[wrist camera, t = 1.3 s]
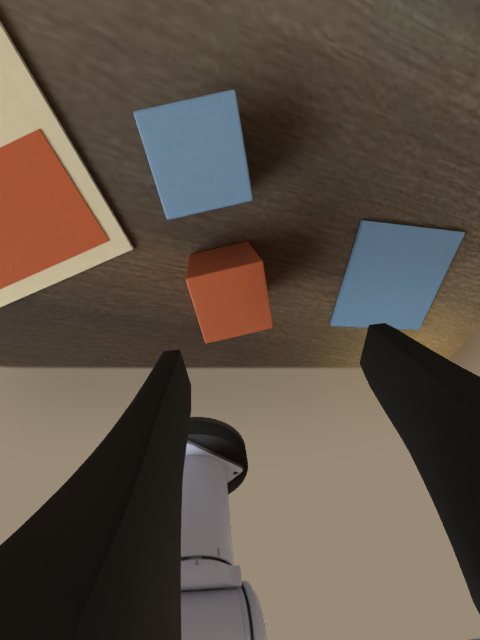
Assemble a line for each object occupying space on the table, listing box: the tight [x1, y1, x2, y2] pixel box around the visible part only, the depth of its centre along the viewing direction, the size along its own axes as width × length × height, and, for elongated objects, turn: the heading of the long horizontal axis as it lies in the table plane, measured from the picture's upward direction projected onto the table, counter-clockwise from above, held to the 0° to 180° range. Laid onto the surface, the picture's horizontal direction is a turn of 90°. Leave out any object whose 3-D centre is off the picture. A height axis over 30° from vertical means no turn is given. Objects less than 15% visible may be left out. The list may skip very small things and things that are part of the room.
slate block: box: [134, 89, 253, 220], centre depth 13 cm, size 4×4×5 cm
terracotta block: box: [186, 241, 273, 343], centre depth 17 cm, size 4×4×5 cm
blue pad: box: [330, 220, 465, 330], centre depth 20 cm, size 8×8×1 cm
